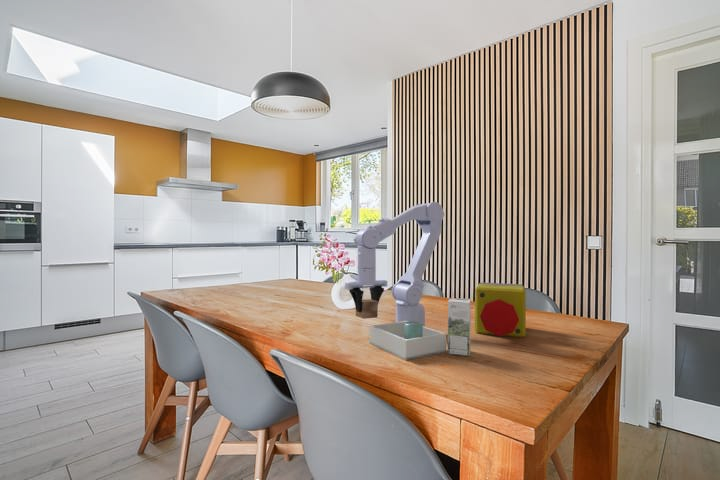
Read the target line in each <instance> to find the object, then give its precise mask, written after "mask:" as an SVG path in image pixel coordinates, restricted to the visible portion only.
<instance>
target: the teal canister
mask: <svg viewBox="0 0 720 480" xmlns="http://www.w3.org/2000/svg"><path fill="white" fill-rule="evenodd" d="M418 337H423V323H421V322H413V321H410V322H405V323H404V339H412V338H418Z"/></svg>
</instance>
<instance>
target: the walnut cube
mask: <svg viewBox="0 0 720 480" xmlns="http://www.w3.org/2000/svg"><path fill="white" fill-rule="evenodd" d="M378 306H379V303H378V301H374V300H371V298H366V299H365V298H364V299H362V312H357V311H356V310H355V316H356V317H358V318H361V319H374V318H378V314H379V313H378V312H379V311H378V310H379V309H378V308H379V307H378Z"/></svg>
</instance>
